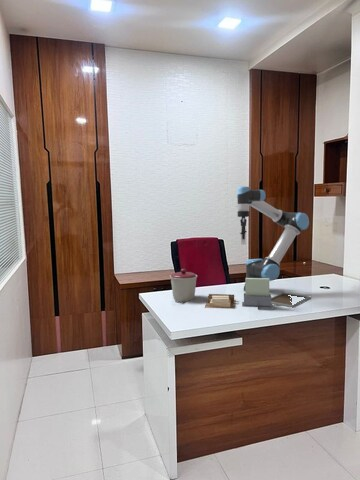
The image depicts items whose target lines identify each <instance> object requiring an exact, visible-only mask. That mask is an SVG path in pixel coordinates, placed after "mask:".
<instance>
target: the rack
mask: <svg viewBox="0 0 360 480" xmlns="http://www.w3.org/2000/svg"><path fill="white" fill-rule="evenodd" d="M212 296H229V300H231V305H230V307H210V301H211V299H212ZM236 304H237V300H236V299H235V294H231V293H230V294H228V293H227V294H226V293H225V294H224V293H223V294H222V293H220V294H218V293H209V294H208V295H207V301H206V303H205V305H204V309H227V310H230V309H231V310H233V309H234V310H235V309H236Z"/></svg>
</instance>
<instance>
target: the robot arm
mask: <svg viewBox="0 0 360 480" xmlns="http://www.w3.org/2000/svg"><path fill="white" fill-rule="evenodd" d="M236 199H237V205H236V208H237V217H238V218H240V220H239V221H240V226H241V229H240V230H241V232H239V234H240V237H241V238H240V239H241V241H240V242H241V245H246V243H247V241H246V237H247V235H246V234H247V230H246V226H247V219H246V218H248V217H250V211H249V210H250V207H252V208H253V209H255V210H257V211H259V212H260V213H262V214H264V215H265V216H267V217H269V218H270V219H271V220H272V221H273V222H274V223H276V224H277V225H279V226H281V227H282V228H284V230H283V232H282V234H281V235H280V237H279V239H277V241H276V244H275V245H274V246H273V249H272V250H271V252H270V253H269V255H268V256H266V257H264V259H263V258H251V259H246V261H245V262H246V263H245V268H246V269H245V271H246V274H245V275H246V276H245V278H269V282H272V281H275V280H277V279H278V277H279V275H280V273H281V272H280V271H281V270H280V267H281V265H280V264H281V261H282V259H283V258H284V256H285V255H286V253H287V251H288V249H289V248H290V247H291V245H292V243H293V241H294V240H295V238H296V236H298V235H300V234H301V233H302V231H305V230H307V229H308V228H309V225H310V220H309V216H308V214H306V213H305V212H299V211H298V212H290V211H289V212H288V211H287V212H286V211H283V210H282V209H277V208H275V207H274V206H273V205H271V204H269V203H267V202H266V201H264V200H266V191H265V190H263V189H250V186H238V188H237V194H236ZM243 292H245V284H244V286H243Z"/></svg>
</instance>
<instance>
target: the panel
mask: <svg viewBox="0 0 360 480" xmlns="http://www.w3.org/2000/svg"><path fill="white" fill-rule="evenodd" d="M244 281H245V283H244V285H245V291H244V293H245V295H246V296H269V294H270V281H269V278H246V277H245V280H244Z"/></svg>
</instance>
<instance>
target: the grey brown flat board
mask: <svg viewBox="0 0 360 480" xmlns="http://www.w3.org/2000/svg"><path fill="white" fill-rule="evenodd" d="M288 295H291V296H297V297H304V298H305V299H303V300H301V301H299V302H297V303H296V304H294V305H292V303H291V302H292V298H291V297H290V296H288ZM290 298H291V299H290ZM310 299H311V296H307V295H302V294H295V293H289V292H282V293H279V294H277V295H273V296H271V303H272V305H273V307H287V308H291V307H292V308H295V307H297V306H298V304H299V305H300V303H301V304H303V303H305V302H306V301H308V300H310ZM290 301H291V302H290ZM304 301H305V302H304ZM302 302H303V303H302ZM296 305H297V306H296Z"/></svg>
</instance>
